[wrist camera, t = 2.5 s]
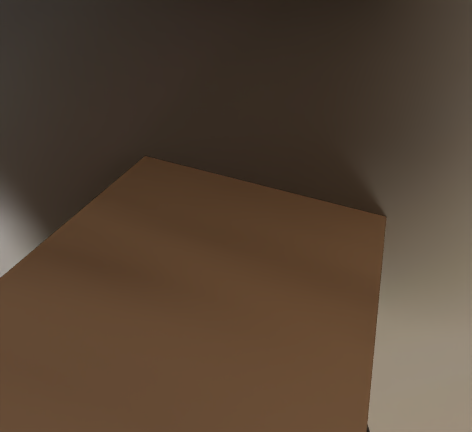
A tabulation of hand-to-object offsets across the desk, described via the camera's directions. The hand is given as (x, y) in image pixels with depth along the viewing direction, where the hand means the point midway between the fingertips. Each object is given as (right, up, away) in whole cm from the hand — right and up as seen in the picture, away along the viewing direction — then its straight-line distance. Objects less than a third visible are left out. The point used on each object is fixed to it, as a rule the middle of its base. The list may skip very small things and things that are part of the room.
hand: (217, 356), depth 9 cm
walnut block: (+1, +1, +1) cm, 2 cm away
